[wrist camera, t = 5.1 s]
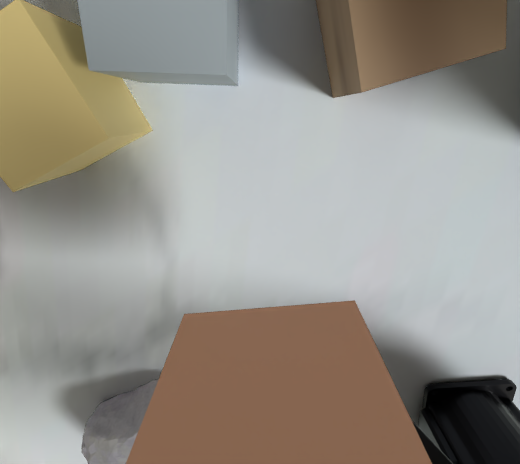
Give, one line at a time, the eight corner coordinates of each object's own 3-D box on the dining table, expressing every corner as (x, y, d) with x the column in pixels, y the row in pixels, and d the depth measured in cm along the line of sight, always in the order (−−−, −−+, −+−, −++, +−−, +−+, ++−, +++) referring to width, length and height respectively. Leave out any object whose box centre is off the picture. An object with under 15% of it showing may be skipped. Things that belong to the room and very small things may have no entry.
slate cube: (238, -37, 13) (225, -114, 9) (238, 85, 15) (227, 75, 11) (128, -41, 13) (57, -121, 9) (141, 82, 15) (88, 70, 11)
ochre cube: (96, 33, 15) (17, -3, 10) (153, 130, 16) (109, 138, 12) (19, 83, 15) (-86, 72, 11) (80, 170, 17) (13, 192, 12)
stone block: (194, 348, 24) (84, 403, 24) (192, 397, 20) (58, 464, 20) (253, 431, 29) (160, 478, 29) (262, 486, 24) (153, 542, 24)
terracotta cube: (354, 300, 9) (461, 526, 4) (352, 418, 10) (423, 665, 6) (184, 314, 9) (95, 540, 4) (212, 427, 11) (172, 669, 6)
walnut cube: (423, -56, 13) (509, -147, 8) (430, 67, 15) (505, 48, 10) (312, -16, 14) (336, -82, 9) (332, 97, 15) (361, 92, 11)
